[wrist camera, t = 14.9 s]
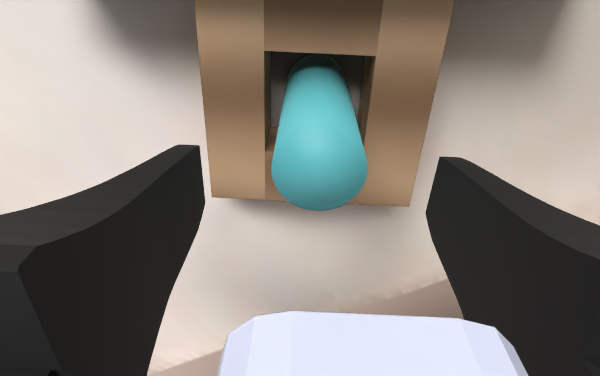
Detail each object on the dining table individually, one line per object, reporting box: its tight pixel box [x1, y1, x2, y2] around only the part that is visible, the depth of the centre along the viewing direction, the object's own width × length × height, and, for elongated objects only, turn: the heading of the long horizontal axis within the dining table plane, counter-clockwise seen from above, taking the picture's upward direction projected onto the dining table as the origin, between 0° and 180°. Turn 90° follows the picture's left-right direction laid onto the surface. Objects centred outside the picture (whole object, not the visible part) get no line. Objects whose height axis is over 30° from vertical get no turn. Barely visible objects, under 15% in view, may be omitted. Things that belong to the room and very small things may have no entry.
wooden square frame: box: [194, 0, 455, 207], centre depth 19 cm, size 10×10×3 cm
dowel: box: [271, 55, 368, 211], centre depth 16 cm, size 3×3×9 cm
